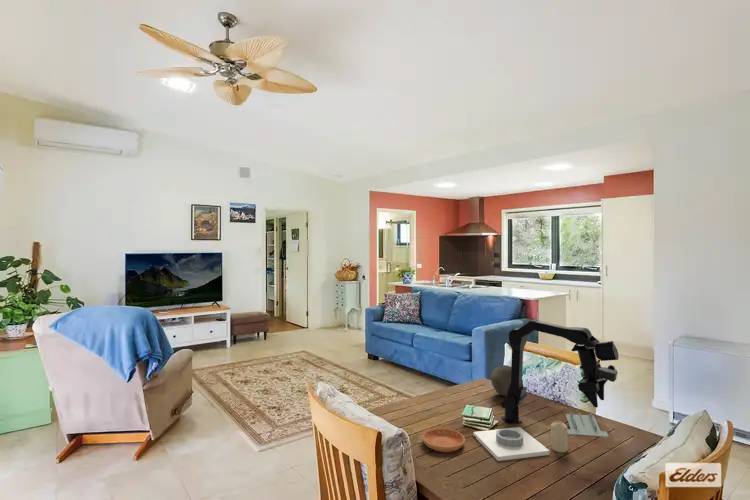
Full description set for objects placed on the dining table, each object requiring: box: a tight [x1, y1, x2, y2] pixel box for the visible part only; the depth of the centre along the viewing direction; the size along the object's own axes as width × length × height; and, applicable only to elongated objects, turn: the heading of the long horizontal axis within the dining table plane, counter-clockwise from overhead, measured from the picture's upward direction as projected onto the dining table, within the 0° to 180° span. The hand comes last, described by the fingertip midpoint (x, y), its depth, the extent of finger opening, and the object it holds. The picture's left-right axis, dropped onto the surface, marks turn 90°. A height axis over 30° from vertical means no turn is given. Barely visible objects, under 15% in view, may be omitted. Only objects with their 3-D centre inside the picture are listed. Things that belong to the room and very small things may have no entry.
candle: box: [550, 420, 569, 453], centre depth 154 cm, size 6×6×10 cm
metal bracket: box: [565, 411, 610, 438], centre depth 171 cm, size 14×6×15 cm
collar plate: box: [473, 426, 551, 462], centre depth 158 cm, size 20×20×4 cm
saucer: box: [421, 428, 466, 453], centre depth 159 cm, size 16×16×3 cm
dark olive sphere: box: [490, 364, 511, 397], centre depth 209 cm, size 14×14×15 cm
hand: (599, 403), depth 158 cm, fingers open, 9 cm apart
